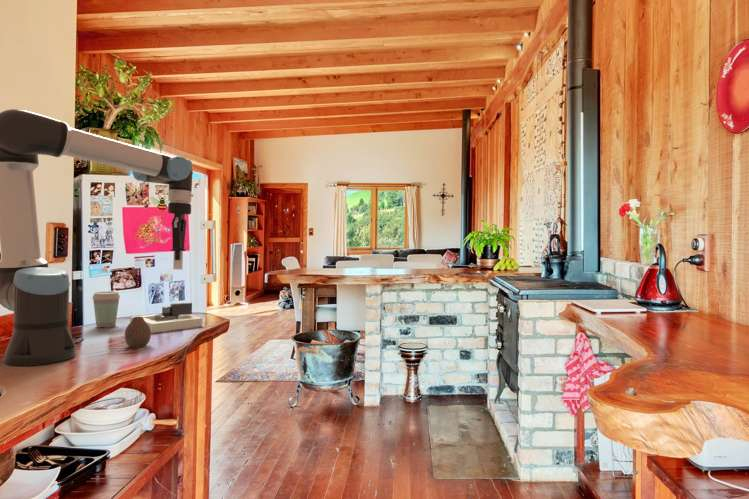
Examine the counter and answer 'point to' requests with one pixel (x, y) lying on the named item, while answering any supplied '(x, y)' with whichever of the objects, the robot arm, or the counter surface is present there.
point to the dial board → (171, 323)
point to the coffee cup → (106, 308)
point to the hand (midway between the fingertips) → (177, 269)
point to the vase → (137, 333)
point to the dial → (174, 311)
